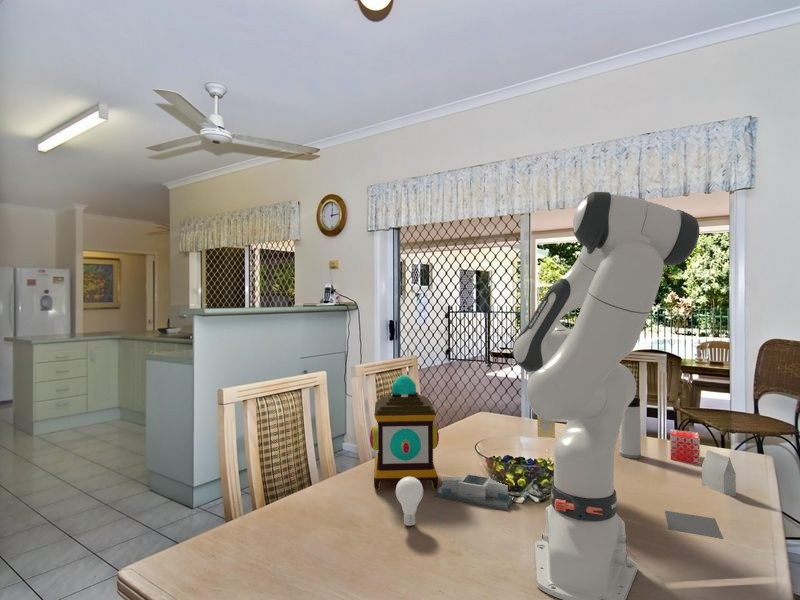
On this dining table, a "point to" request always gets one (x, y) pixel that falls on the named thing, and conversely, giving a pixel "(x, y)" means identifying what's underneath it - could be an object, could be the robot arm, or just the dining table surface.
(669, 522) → the rubber mat
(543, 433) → the block
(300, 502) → the dining table surface
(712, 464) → the white house block
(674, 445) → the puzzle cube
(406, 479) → the lightbulb
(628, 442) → the travel mug
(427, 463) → the decorative lantern
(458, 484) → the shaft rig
